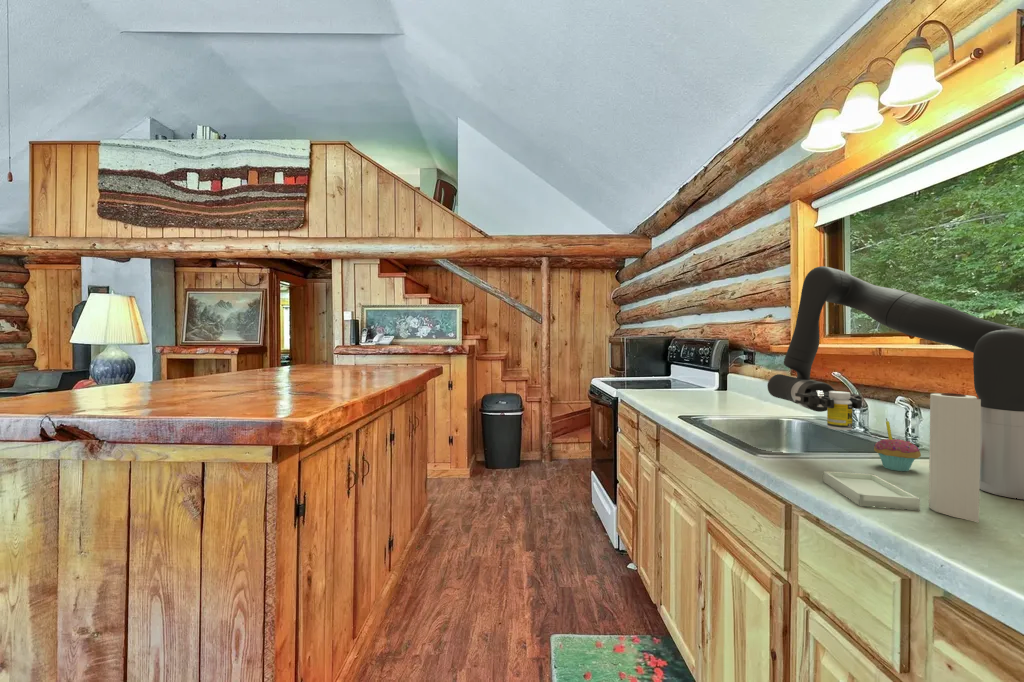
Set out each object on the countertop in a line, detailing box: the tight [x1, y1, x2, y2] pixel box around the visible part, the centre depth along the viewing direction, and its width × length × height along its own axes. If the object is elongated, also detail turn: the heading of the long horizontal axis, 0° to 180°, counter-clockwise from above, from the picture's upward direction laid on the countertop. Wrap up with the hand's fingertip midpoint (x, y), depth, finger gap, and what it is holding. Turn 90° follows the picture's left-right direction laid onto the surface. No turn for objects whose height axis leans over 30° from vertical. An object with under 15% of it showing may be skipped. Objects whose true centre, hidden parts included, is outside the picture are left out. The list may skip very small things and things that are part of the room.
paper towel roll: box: [928, 392, 981, 524], centre depth 82 cm, size 7×6×21 cm
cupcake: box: [873, 417, 922, 472], centre depth 110 cm, size 9×8×12 cm
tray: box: [822, 470, 921, 512], centre depth 91 cm, size 10×15×2 cm, turn 168°
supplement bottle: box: [826, 390, 853, 431], centre depth 105 cm, size 5×5×8 cm
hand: (845, 403), depth 102 cm, fingers closed on supplement bottle, 4 cm apart
